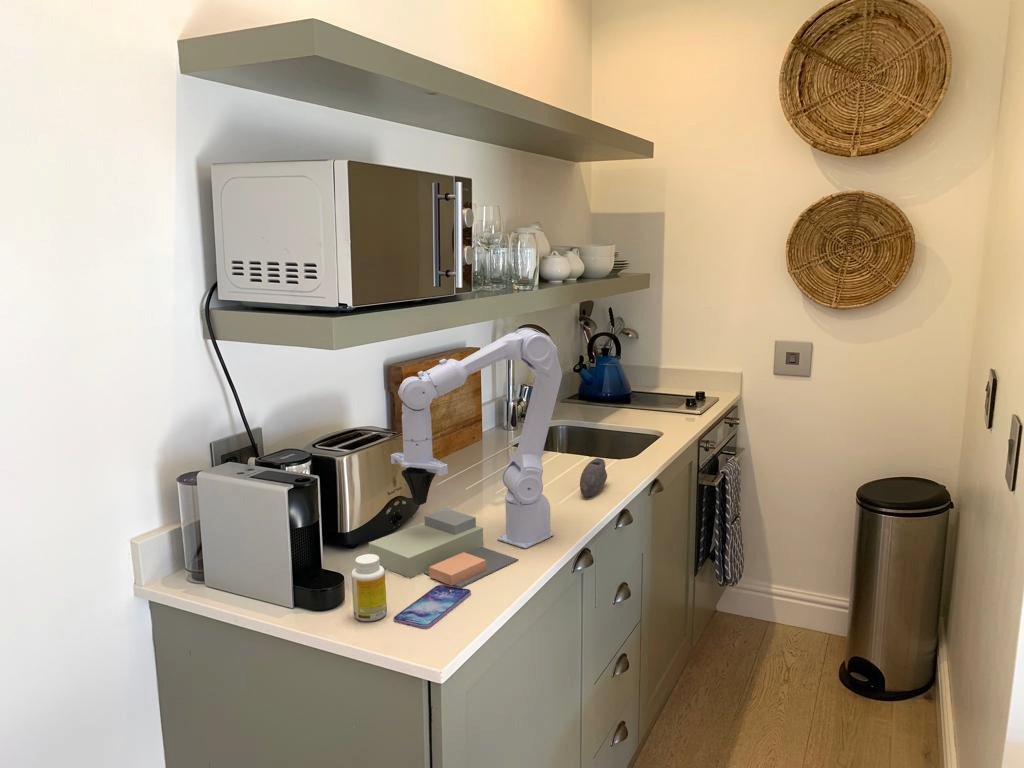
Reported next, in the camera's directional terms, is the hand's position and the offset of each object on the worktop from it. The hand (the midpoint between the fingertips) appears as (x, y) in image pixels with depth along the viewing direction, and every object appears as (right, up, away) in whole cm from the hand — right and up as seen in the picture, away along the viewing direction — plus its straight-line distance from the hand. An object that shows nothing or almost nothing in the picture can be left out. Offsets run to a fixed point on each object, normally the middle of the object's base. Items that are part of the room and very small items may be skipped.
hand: (420, 503), depth 160 cm
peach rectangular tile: (+8, -10, -10) cm, 16 cm away
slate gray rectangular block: (+6, -5, +5) cm, 9 cm away
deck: (+1, -10, +1) cm, 10 cm away
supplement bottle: (-6, -16, -24) cm, 29 cm away
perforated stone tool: (+38, -3, +38) cm, 54 cm away
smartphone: (+5, -15, -22) cm, 27 cm away
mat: (+11, -11, -6) cm, 17 cm away
